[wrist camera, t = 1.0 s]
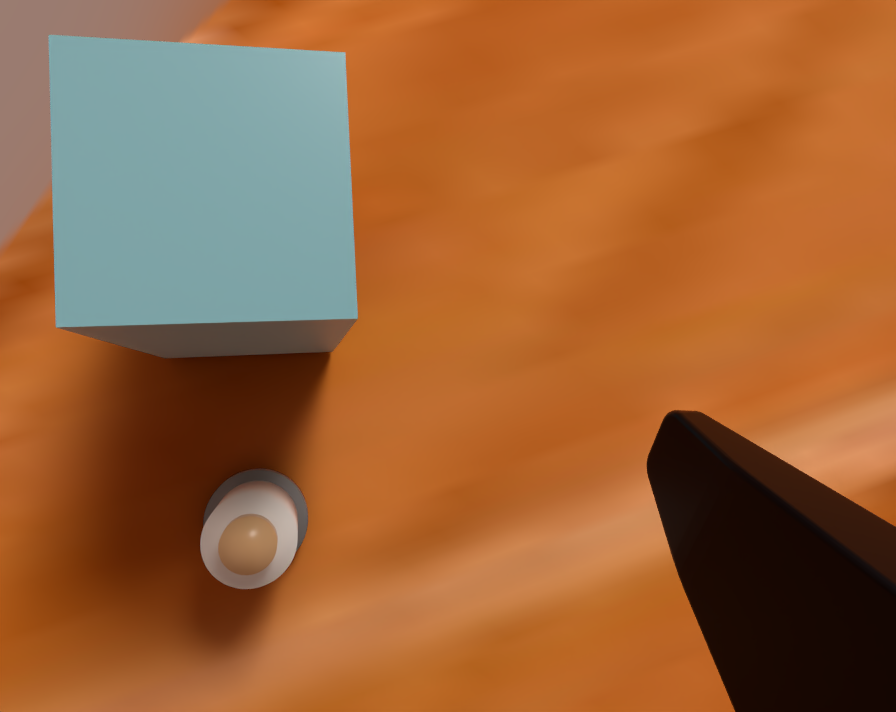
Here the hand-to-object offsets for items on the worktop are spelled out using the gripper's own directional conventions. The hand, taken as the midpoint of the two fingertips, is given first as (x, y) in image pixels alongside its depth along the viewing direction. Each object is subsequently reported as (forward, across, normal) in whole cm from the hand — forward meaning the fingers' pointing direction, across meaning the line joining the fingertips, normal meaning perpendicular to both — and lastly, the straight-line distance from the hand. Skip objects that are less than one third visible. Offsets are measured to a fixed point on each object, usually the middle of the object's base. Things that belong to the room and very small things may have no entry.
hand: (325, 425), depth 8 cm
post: (+9, +1, +10) cm, 14 cm away
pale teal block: (+13, +2, +4) cm, 14 cm away
